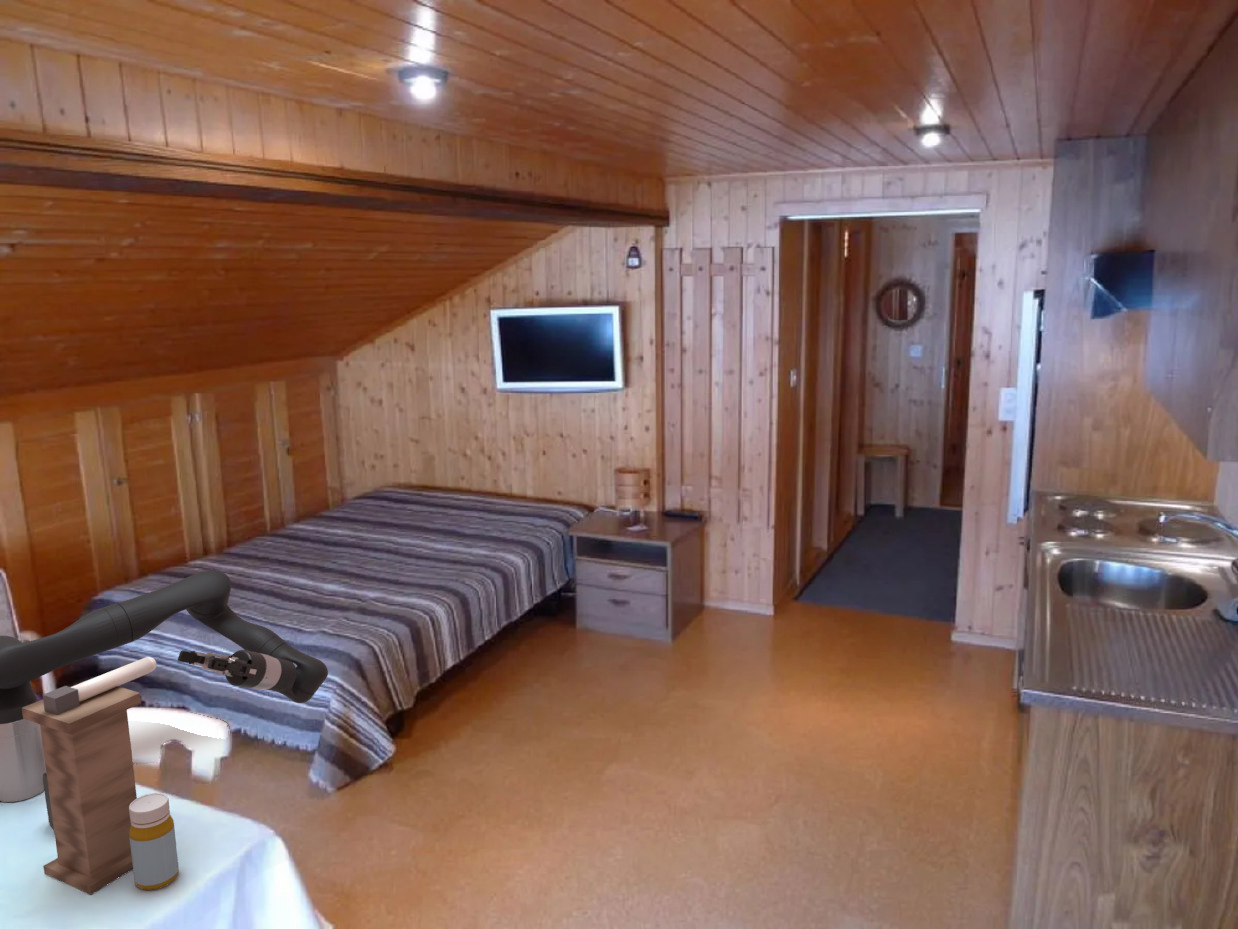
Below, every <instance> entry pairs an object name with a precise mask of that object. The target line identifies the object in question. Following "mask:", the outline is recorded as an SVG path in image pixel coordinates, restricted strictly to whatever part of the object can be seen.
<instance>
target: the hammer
mask: <svg viewBox="0 0 1238 929" xmlns="http://www.w3.org/2000/svg"><path fill="white" fill-rule="evenodd" d="M157 666H158V665H157V661H156V660H155V658H153V657H151V656H145V657H143V658H141V659H137V660H135V661H133V662H131V663H128V664H125V665H123V666H120V667H118V668H115V669H113V670H110V671H108V672H106V673H103V674H101V675H98V676H95V677H91V678H90V679H88V680H85V681H82V682H80V683H78V684H75V685H73V686H68V685H64V686H62V687H59V688H56V689H54V690H52V691H48V692H47V693H43V694H42V700H43V702H44V710H45V711H46V712H49V713H52V714H55V715H59V714H61V713H64V712H66V711H68V710H71V709H73V708H76V707H78V706H80V703H79V702H81V701H83V700H86V699H88V698H91V697H93V696H95V695H98V694H100V693H103V692H105V691H107V690H110V689H112V688H115V687H117V686H118V687H120V686H122V685H124V684H126V683H129V682H132V681H134V680H136V679H138V678H141V677H143V676H145V675H147V674H151V673H152V672H154V671H155V669H156V668H157Z"/></svg>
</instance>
